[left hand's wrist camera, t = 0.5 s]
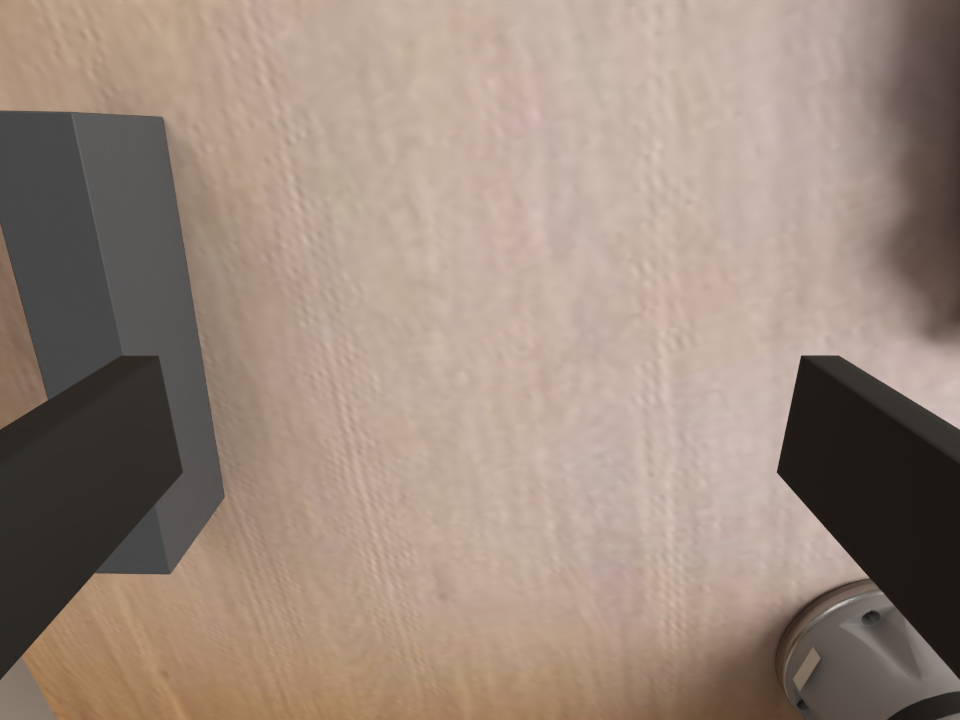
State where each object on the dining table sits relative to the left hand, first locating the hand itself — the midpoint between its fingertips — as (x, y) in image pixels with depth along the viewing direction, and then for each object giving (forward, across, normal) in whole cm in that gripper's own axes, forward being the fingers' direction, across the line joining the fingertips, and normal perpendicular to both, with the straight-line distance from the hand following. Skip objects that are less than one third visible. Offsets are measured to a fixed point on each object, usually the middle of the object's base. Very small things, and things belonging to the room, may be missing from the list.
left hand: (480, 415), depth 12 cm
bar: (+26, -21, -6) cm, 34 cm away
